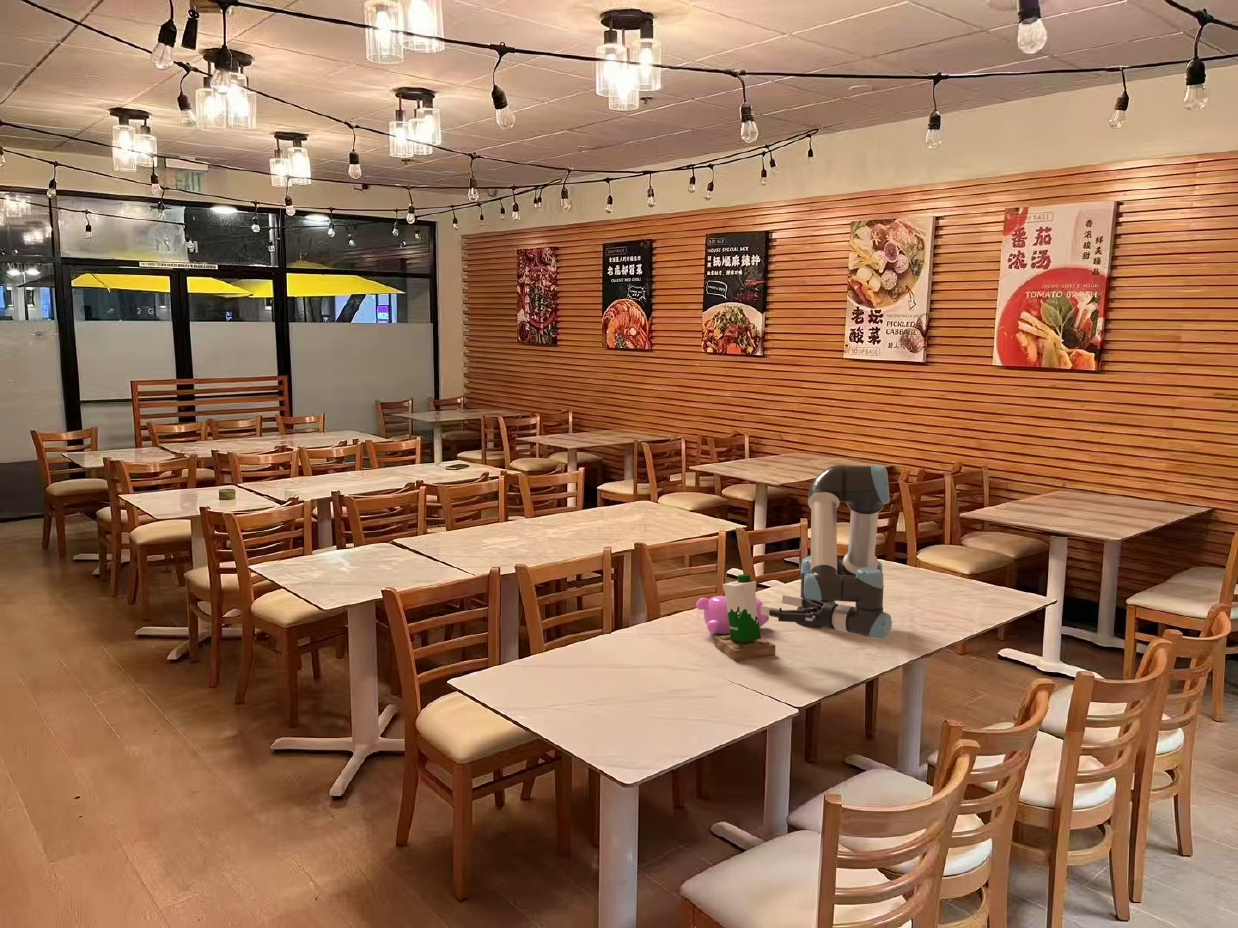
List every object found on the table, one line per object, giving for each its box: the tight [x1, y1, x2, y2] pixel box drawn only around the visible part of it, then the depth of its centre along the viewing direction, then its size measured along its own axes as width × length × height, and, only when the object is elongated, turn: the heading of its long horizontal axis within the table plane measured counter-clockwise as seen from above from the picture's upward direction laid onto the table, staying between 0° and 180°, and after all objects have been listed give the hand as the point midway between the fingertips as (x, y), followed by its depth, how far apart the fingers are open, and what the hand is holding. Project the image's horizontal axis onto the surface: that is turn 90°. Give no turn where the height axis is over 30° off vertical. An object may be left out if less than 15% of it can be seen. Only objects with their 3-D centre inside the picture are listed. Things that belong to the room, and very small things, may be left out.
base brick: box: [714, 634, 776, 662], centre depth 285 cm, size 14×14×4 cm
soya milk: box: [722, 573, 762, 643], centre depth 283 cm, size 9×9×20 cm
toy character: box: [695, 595, 770, 635], centre depth 304 cm, size 16×13×25 cm
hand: (772, 604), depth 276 cm, fingers open, 13 cm apart
